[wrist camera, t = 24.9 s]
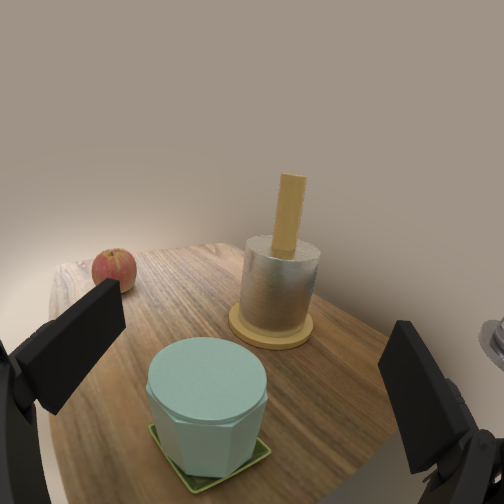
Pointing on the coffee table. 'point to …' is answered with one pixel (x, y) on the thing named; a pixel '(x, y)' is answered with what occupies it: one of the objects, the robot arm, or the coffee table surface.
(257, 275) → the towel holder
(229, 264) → the coffee table surface
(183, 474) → the saucer
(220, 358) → the jar
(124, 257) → the apple
